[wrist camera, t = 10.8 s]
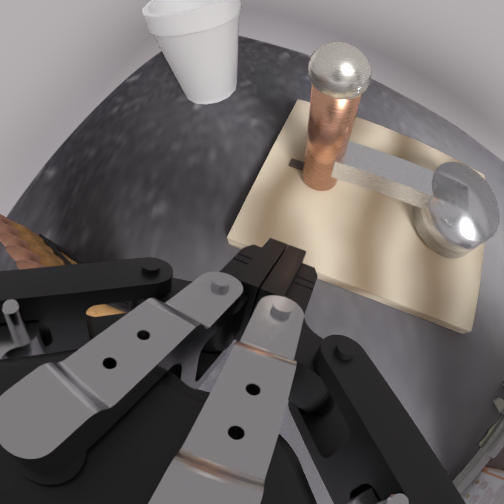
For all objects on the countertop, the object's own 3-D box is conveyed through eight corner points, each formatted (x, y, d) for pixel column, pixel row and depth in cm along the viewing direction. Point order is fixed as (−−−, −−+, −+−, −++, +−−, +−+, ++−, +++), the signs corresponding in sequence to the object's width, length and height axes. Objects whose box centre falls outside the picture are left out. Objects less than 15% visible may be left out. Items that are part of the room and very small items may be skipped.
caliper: (501, 379, 19) (544, 377, 13) (506, 384, 18) (548, 382, 12) (372, 552, 14) (391, 586, 8) (379, 554, 14) (399, 587, 8)
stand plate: (478, 182, 25) (485, 174, 24) (462, 333, 21) (472, 331, 19) (297, 109, 30) (297, 97, 28) (229, 244, 25) (226, 236, 23)
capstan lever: (475, 201, 22) (549, 119, 10) (473, 268, 20) (575, 200, 8) (309, 141, 26) (322, 16, 14) (287, 204, 24) (293, 71, 12)
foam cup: (183, 69, 34) (160, -10, 22) (252, 65, 33) (243, -21, 21) (165, 116, 31) (127, 25, 19) (244, 112, 30) (230, 8, 18)
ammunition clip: (139, 313, 24) (45, 274, 12) (128, 331, 23) (29, 303, 12) (69, 251, 26) (-13, 196, 15) (59, 266, 26) (-25, 216, 14)
